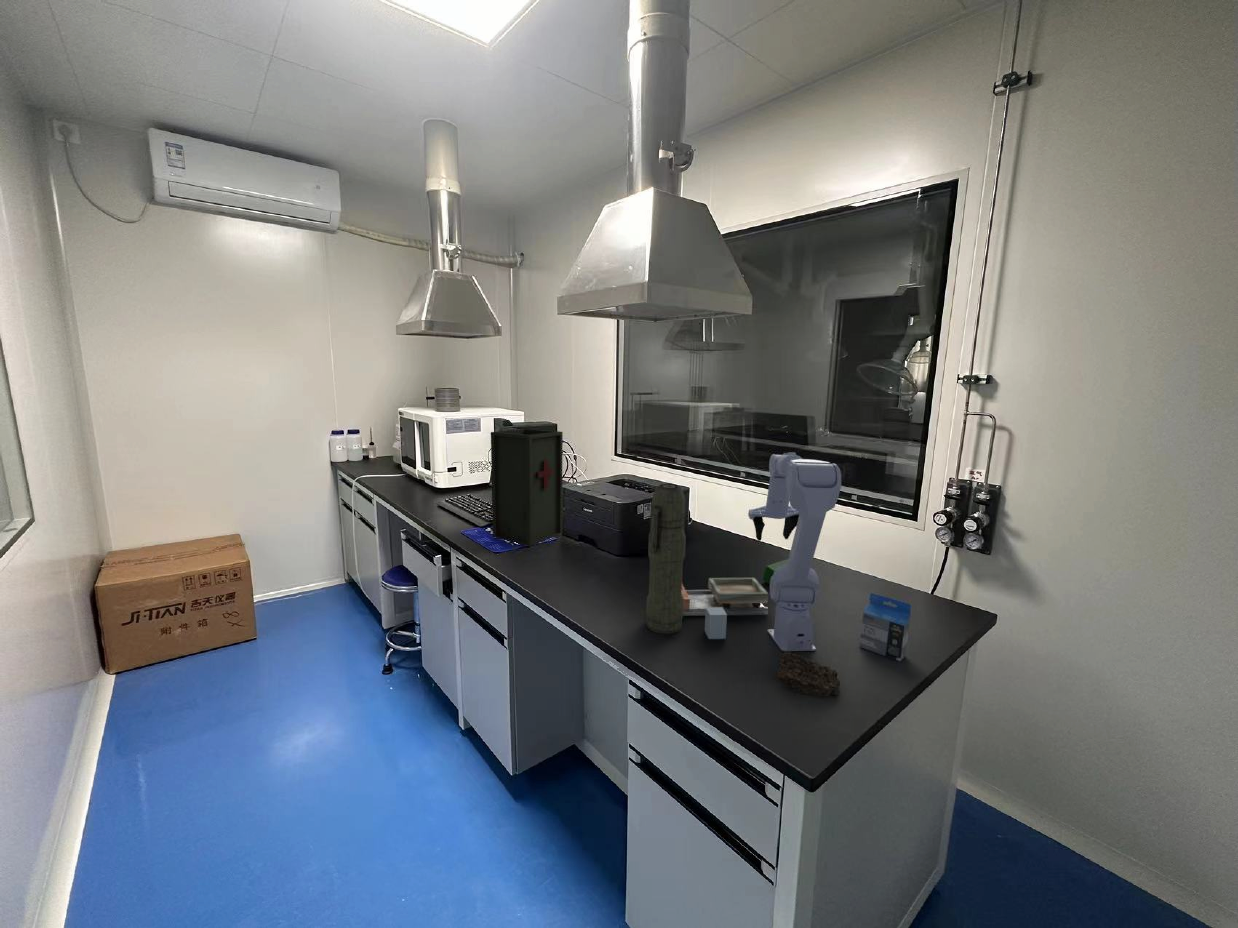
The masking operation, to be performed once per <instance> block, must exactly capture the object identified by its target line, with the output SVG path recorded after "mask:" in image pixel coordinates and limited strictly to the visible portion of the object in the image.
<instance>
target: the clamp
mask: <svg viewBox="0 0 1238 928" xmlns="http://www.w3.org/2000/svg"><path fill="white" fill-rule="evenodd" d="M788 559H789V558H787V559H783V560H781V561H777V562H775V563H772V564H768V565H766V567H765V571H764V572H763V576H762V581H763V582H764V583H766V584H767V585H770V579H771V577H772V576H773V574H774V571H775V569H776V568H778V567H780V566H782V565H785V564H787V563H788Z"/></svg>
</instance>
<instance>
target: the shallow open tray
mask: <svg viewBox="0 0 1238 928" xmlns="http://www.w3.org/2000/svg"><path fill="white" fill-rule="evenodd" d="M707 579H708V581H707V583H708V584H707V587H708V590H711V592H712V594H713V595H714V597H715V599H716V600H717V602H718V603H722V605H723V607H724V608H729V607H730V603H752V605H753V607H760V605H761V604H760V603H762V604H767V603H769V593H768V592H767V590H766V589H765V588H764V587H763V586H762V585H761V583H759V580H757V578H755V577H708V578H707Z"/></svg>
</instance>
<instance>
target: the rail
mask: <svg viewBox="0 0 1238 928" xmlns="http://www.w3.org/2000/svg"><path fill="white" fill-rule="evenodd" d="M681 596H682V599H683V617H685V616H686V617H687V616H689V617H691V616H693V617H695V616H698V617H699V616H705V615H706V607H722V608H723V609H724V611H725V612H726V614H727V616H755V615H756V616H758V615H759V616H765V615H769V607H768V606H764V603H760V604H761V605H760V607H753V605H752V603H730V607H729V608H724V607H723V605H722V603H718V602H717V600H716V599H715V597H714V595H713V594H712V592H711V590H710V589H686V588H685V587H684V584H683V583H682V593H681Z"/></svg>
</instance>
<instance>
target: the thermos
mask: <svg viewBox="0 0 1238 928" xmlns="http://www.w3.org/2000/svg"><path fill="white" fill-rule="evenodd" d="M651 498H652V502H651V508H652V509H651V511H650V514H649V516H650V518H649V533H648V547H647V549H648V550H647V552H648V553H647V554H648V555H647V556H648V558H649V575H648V577H649V579H648V581H649V582H648V595H647V597H646V602H645V603H646V606H645V607H646V608H645V609H646V610H645V615H646V623H645V624H646V627H647V628H648V630H650V631H651V632H654V633H657V634H661V635H662V634H663V635H665V634H667V635H669V634H674V633H677V632H679V631H681V629H682V628H683V627H682V626H683V624H682V623H683V621H682V620H683V617H684V615H683V599H682V596H681V593H682V584H683V566H684V565H683V564H684V560H685V558H686V541H687V538H686V537H687V535H686V534H685V533H686V532H685V522H686V521H685V520H686V507H685V506H686V505H685V504H686V499H685V494H684V490H683V488H682V487H681V486H680V485H678V484H675V483H674V484H673V483H661V484H659V485H657V486H656V487H655V489H654V491H653V495H652V497H651Z"/></svg>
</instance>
